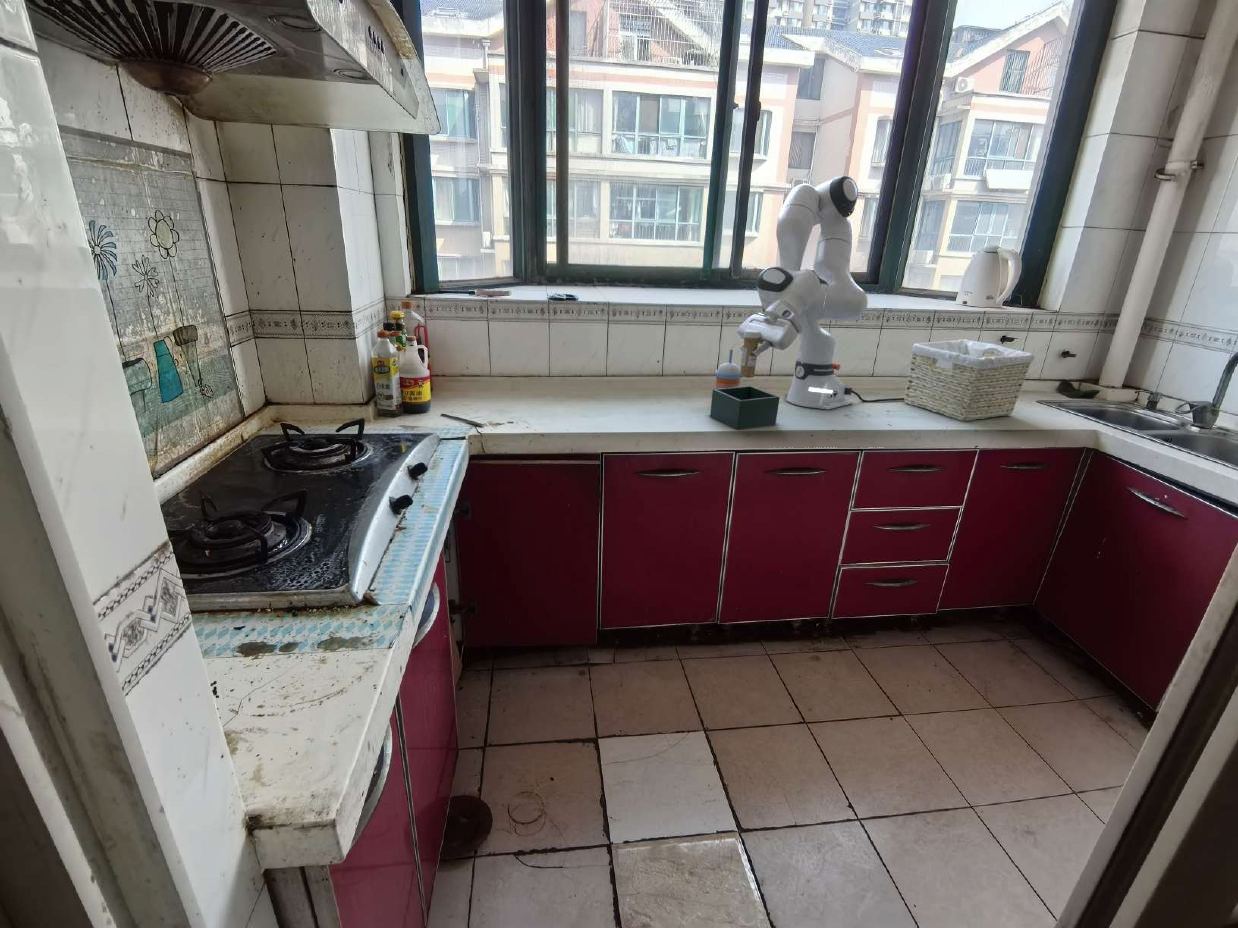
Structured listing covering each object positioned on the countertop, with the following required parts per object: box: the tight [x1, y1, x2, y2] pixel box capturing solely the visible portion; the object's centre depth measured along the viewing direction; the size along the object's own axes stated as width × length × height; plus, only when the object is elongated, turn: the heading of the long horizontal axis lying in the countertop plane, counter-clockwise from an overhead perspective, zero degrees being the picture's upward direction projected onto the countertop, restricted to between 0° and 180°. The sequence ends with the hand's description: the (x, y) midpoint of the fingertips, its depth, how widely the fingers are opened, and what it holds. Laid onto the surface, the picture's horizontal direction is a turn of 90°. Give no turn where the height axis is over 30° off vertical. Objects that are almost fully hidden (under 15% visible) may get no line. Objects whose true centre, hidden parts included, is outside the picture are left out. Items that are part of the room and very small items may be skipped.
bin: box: [709, 385, 781, 430], centre depth 179 cm, size 15×14×9 cm
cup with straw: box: [714, 349, 743, 389], centre depth 194 cm, size 9×9×18 cm
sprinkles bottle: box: [739, 330, 760, 379], centre depth 174 cm, size 5×5×13 cm
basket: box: [903, 338, 1035, 422], centre depth 199 cm, size 27×27×22 cm
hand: (748, 352), depth 173 cm, fingers closed on sprinkles bottle, 4 cm apart
